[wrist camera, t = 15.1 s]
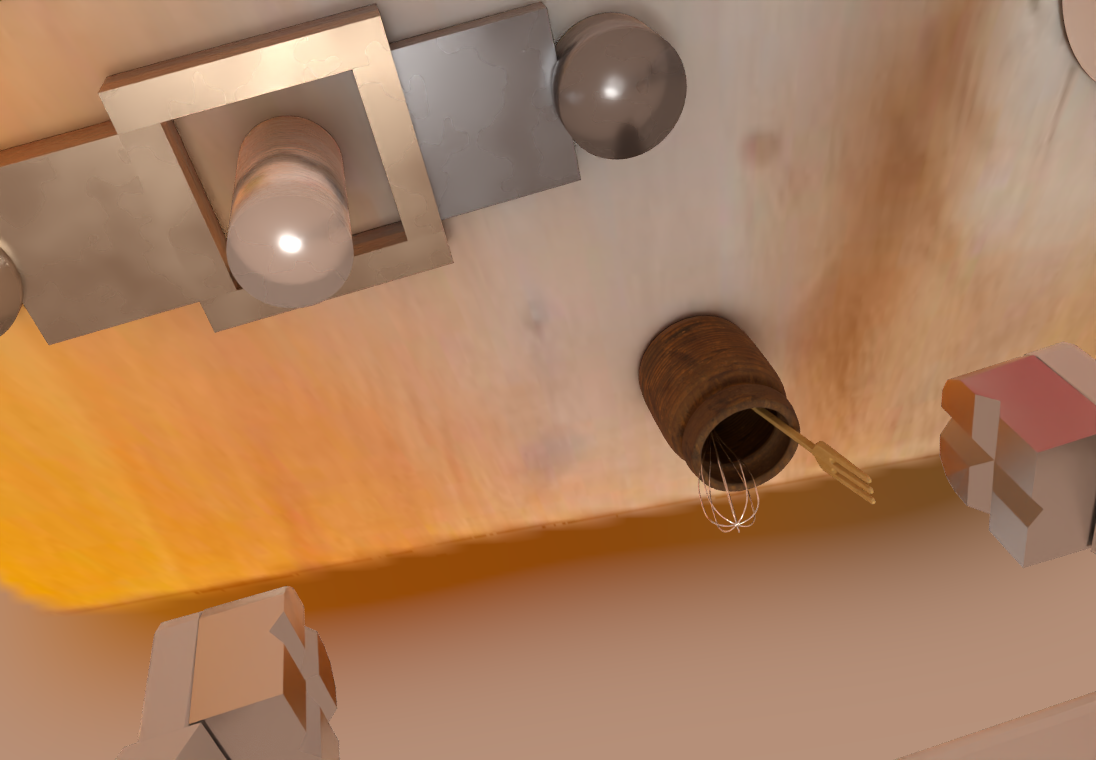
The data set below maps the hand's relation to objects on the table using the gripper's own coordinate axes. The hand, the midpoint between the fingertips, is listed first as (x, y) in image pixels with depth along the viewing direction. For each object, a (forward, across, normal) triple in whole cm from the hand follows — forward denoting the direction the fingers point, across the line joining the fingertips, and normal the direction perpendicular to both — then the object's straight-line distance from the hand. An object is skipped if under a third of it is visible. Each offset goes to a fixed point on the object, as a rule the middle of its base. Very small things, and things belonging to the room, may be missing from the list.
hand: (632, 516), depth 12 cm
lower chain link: (+29, +1, +5) cm, 30 cm away
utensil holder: (+29, -9, +20) cm, 37 cm away
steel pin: (+29, +6, +5) cm, 30 cm away
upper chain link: (+29, +11, +5) cm, 32 cm away
